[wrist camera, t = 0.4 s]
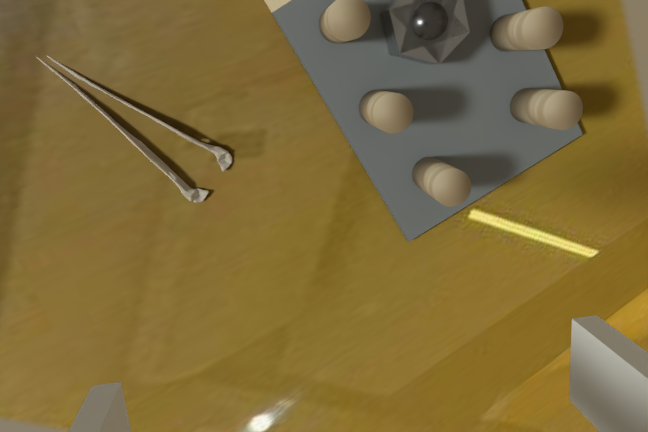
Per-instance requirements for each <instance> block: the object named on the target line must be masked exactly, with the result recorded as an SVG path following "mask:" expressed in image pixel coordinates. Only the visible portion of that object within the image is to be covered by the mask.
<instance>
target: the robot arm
mask: <svg viewBox="0 0 648 432" xmlns="http://www.w3.org/2000/svg"><path fill="white" fill-rule="evenodd" d="M569 400H570V401H571V402H572V403H573V404H574V405H575V406H576V407H577V408H578V409H579V410H580V411H581V413H582V414H583V415H584V416H585V417H586V418H587V419H588V420H589V421H590V422H591V423H592V424H593V425H594V426H595V427H596V428H597V429H598V430H599V432H648V352H646V351H645V350H643V349H642V348H641V347H639V346H638V345H637V344H635V343H634V342H632V341H631V340H630V339H628V338H627V337H626V336H624V335H623V334H621V333H620V332H619V331H617V330H616V329H615V328H613V327H612V326H610V325H609V324H608V323H606V322H605V321H603V320H602V319H601V318H599V317H598V316H597V315H595V316H588V317H581V318H574V319H572V334H571V363H570V391H569ZM69 432H131V429H130V424H129V419H128V414H127V410H126V405H125V400H124V396H123V391H122V386H121V382H117V383H110V384H102V385H95V386H92V387H91V389H90V391H89V393H88V395H87V397H86V399H85V401H84V403H83V405H82V406H81V408H80V410H79V412H78V414H77V416H76V418H75V420H74V422H73V424H72V426H71V428H70V430H69Z"/></svg>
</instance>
